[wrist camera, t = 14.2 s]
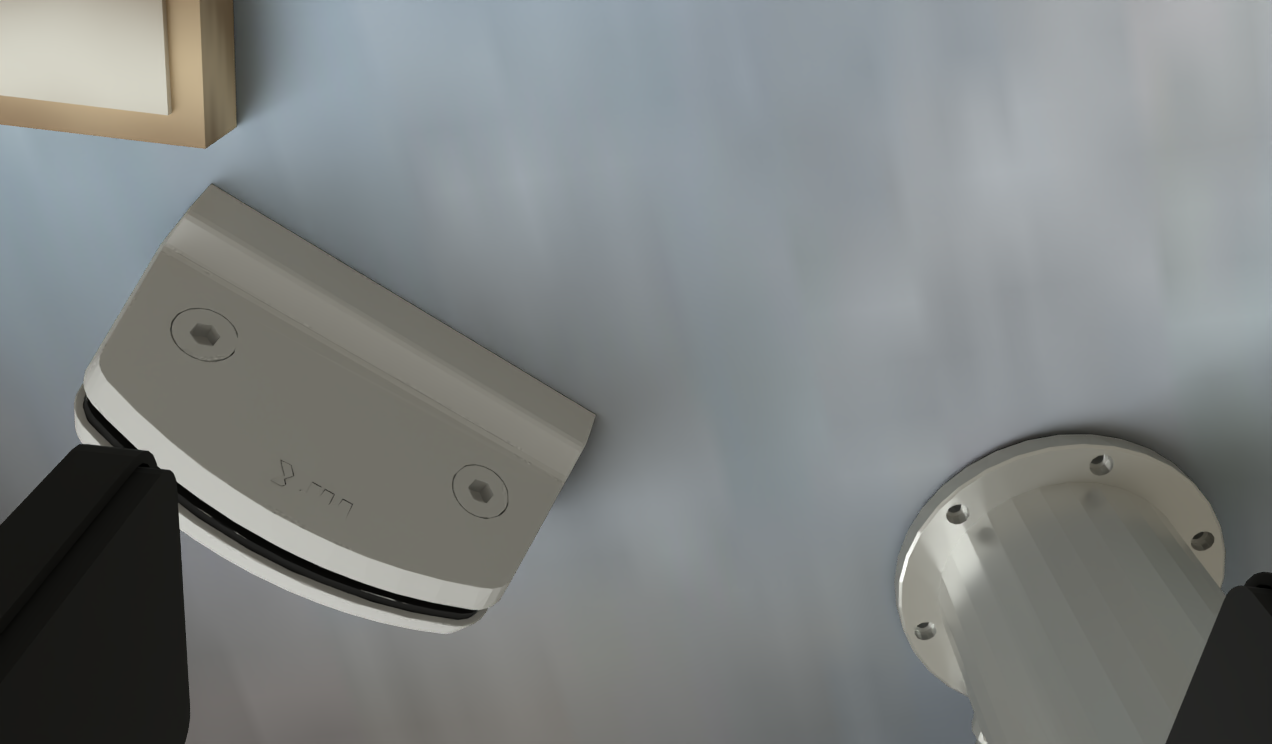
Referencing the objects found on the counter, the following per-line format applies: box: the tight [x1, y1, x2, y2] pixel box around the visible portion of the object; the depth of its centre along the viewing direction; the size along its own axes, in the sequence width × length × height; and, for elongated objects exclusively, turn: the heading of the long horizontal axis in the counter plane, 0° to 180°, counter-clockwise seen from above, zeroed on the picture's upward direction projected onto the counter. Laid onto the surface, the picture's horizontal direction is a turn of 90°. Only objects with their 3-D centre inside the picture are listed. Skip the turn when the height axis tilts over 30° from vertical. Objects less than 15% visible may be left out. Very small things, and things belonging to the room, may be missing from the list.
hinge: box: [74, 184, 596, 634], centre depth 39 cm, size 17×5×10 cm, turn 56°
